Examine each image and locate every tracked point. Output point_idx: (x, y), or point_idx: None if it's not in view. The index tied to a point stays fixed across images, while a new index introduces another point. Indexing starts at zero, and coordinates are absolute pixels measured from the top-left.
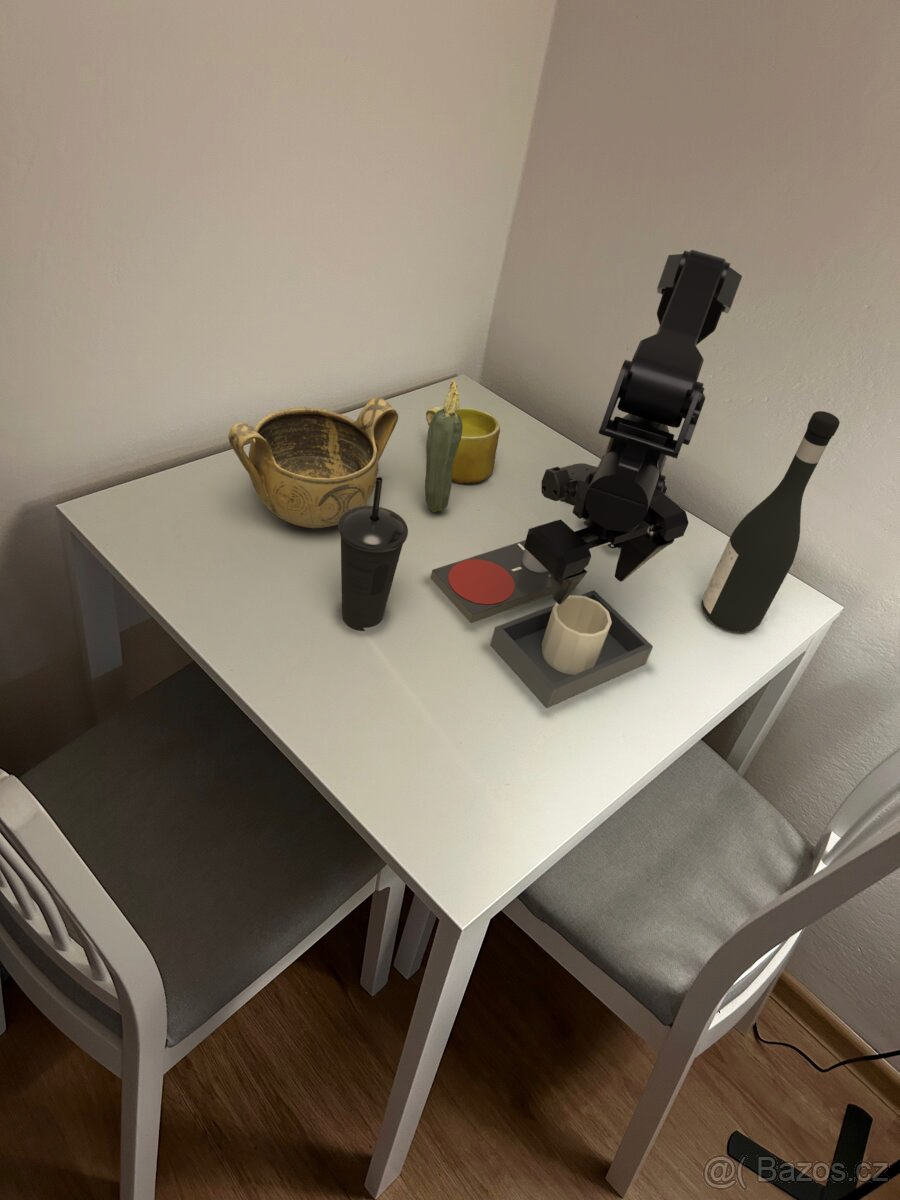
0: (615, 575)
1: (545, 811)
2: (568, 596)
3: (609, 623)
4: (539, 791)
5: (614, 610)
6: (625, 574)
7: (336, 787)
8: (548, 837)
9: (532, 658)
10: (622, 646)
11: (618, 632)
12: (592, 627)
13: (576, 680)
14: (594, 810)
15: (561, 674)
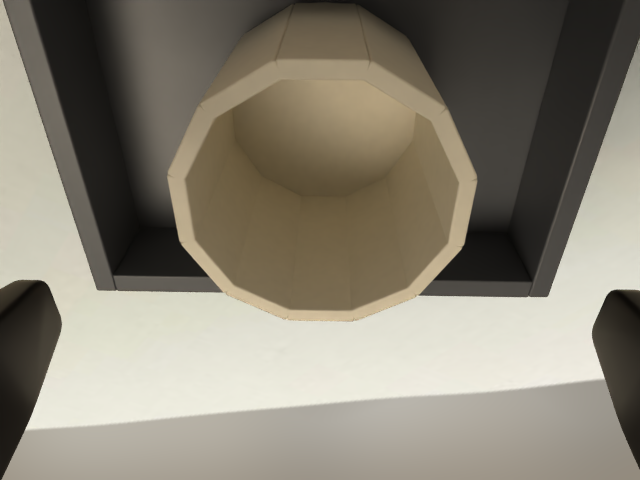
0: (615, 303)
1: None
2: (21, 434)
3: (402, 296)
4: None
5: (610, 103)
6: (625, 416)
7: None
8: None
9: (183, 65)
10: (524, 166)
11: (547, 146)
12: (429, 143)
13: (197, 291)
14: (114, 422)
15: None
